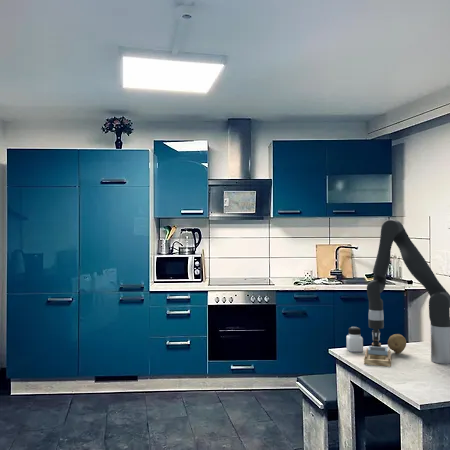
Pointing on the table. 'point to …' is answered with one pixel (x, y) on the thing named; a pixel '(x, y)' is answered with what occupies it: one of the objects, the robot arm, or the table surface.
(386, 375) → the table surface
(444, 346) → the robot arm
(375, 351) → the cover
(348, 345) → the medicine bottle
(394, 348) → the natural sponge
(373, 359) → the wooden tray
